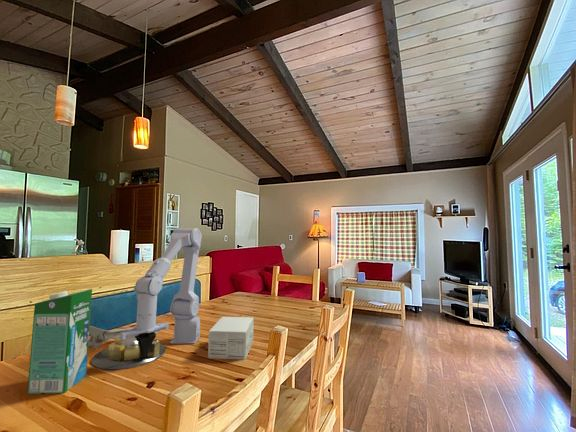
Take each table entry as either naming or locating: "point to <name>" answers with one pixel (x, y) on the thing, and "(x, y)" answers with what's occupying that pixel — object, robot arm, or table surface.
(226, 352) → the supplement box
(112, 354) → the golden segmented ring
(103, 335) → the wrench
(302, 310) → the table surface
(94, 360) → the cap base
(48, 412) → the table surface
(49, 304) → the milk carton
